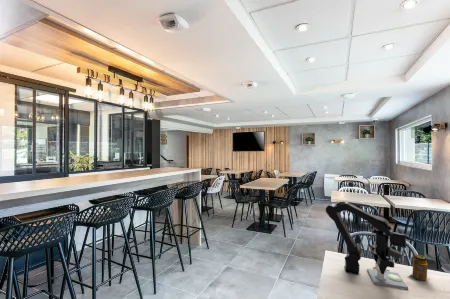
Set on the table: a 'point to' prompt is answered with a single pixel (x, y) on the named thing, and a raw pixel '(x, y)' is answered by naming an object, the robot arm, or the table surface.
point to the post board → (387, 279)
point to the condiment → (419, 269)
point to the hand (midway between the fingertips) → (380, 271)
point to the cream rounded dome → (378, 268)
